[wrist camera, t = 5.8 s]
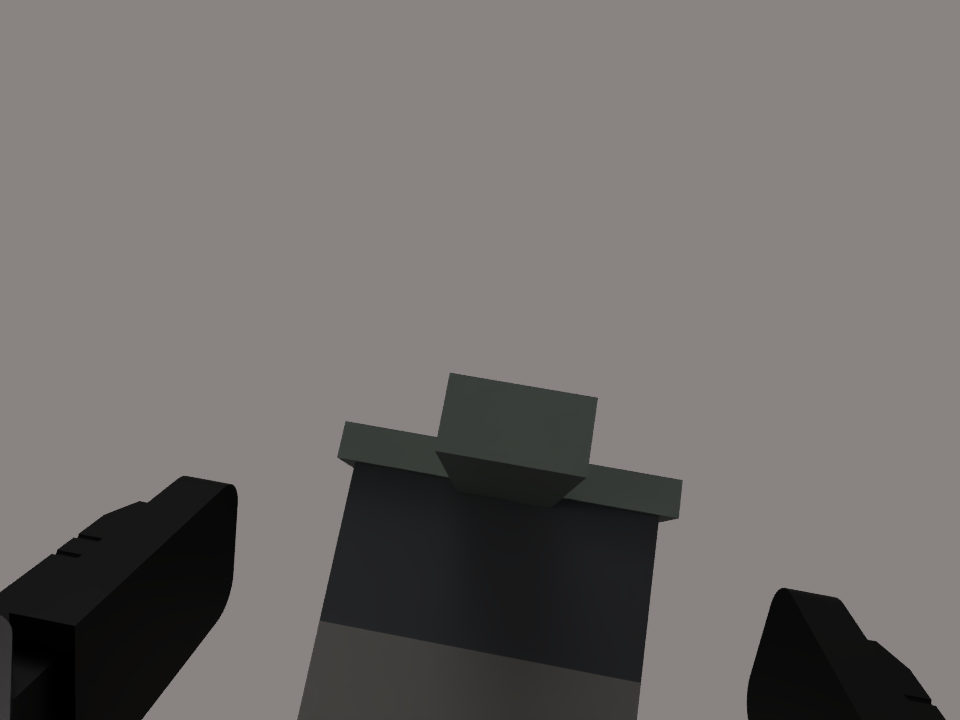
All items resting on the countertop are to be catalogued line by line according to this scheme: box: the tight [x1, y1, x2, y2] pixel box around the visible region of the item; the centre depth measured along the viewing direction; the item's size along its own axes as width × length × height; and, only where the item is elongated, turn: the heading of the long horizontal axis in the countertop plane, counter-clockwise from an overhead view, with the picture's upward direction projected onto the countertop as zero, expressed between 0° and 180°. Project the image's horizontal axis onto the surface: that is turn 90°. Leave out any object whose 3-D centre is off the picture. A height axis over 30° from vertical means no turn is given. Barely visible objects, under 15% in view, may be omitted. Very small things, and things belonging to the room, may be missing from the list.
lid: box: [337, 373, 682, 523], centre depth 24 cm, size 20×11×2 cm, turn 179°
